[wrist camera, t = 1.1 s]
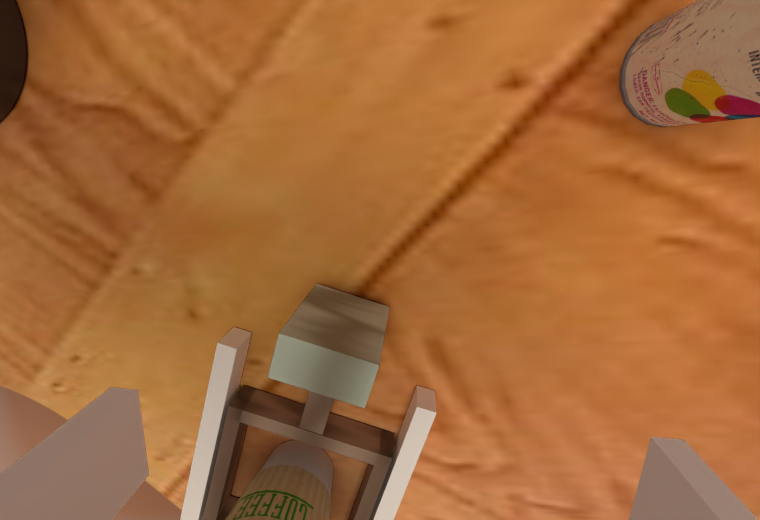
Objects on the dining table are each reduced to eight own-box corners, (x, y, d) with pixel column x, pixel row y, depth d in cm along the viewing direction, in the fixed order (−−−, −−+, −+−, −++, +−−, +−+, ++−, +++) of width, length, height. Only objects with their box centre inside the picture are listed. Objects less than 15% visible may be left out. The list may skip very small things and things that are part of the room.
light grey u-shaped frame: (195, 503, 40) (178, 530, 37) (234, 326, 34) (217, 342, 32) (368, 559, 40) (364, 590, 37) (434, 391, 34) (436, 412, 31)
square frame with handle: (216, 500, 39) (151, 613, 30) (272, 264, 33) (212, 311, 23) (352, 544, 39) (331, 672, 30) (437, 317, 32) (446, 386, 23)
